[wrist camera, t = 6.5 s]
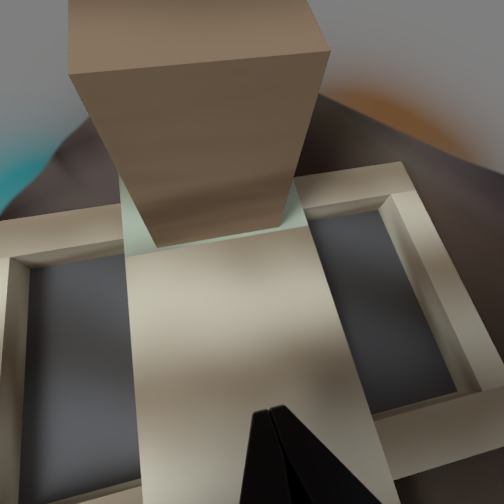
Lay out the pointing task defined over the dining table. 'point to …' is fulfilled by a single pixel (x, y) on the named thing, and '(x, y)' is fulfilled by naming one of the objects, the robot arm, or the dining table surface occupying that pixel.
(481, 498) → the dining table surface
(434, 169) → the dining table surface
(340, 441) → the board
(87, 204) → the dining table surface
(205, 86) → the walnut block
